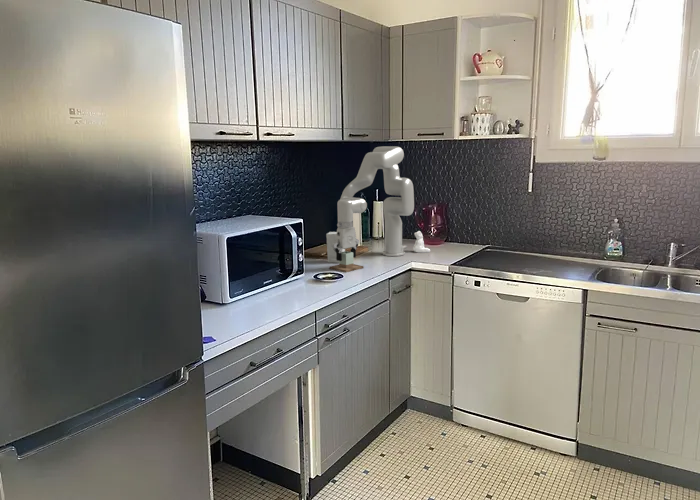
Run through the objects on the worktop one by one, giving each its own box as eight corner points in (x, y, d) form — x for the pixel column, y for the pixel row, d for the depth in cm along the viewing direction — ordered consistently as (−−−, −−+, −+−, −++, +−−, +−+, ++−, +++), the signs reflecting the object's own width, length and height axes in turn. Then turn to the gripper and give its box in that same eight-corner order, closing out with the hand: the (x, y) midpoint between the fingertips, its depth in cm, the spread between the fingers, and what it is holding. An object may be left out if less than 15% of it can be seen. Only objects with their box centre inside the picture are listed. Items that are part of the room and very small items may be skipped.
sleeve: (353, 266, 266) (353, 252, 265) (346, 268, 263) (346, 254, 261) (346, 264, 270) (346, 251, 268) (339, 266, 266) (339, 252, 265)
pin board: (346, 264, 275) (346, 254, 274) (363, 268, 266) (363, 257, 265) (329, 268, 267) (329, 257, 266) (346, 272, 258) (345, 261, 257)
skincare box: (345, 260, 284) (345, 231, 281) (342, 263, 278) (341, 233, 275) (330, 260, 286) (329, 231, 283) (326, 262, 280) (326, 233, 277)
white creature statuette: (431, 252, 300) (431, 231, 298) (417, 254, 297) (417, 232, 295) (422, 249, 309) (423, 229, 307) (409, 251, 306) (409, 230, 304)
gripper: (337, 227, 254) (338, 263, 257) (363, 223, 265) (363, 257, 269) (327, 226, 259) (328, 260, 262) (352, 222, 271) (353, 255, 274)
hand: (346, 258), depth 266 cm, fingers open, 9 cm apart
